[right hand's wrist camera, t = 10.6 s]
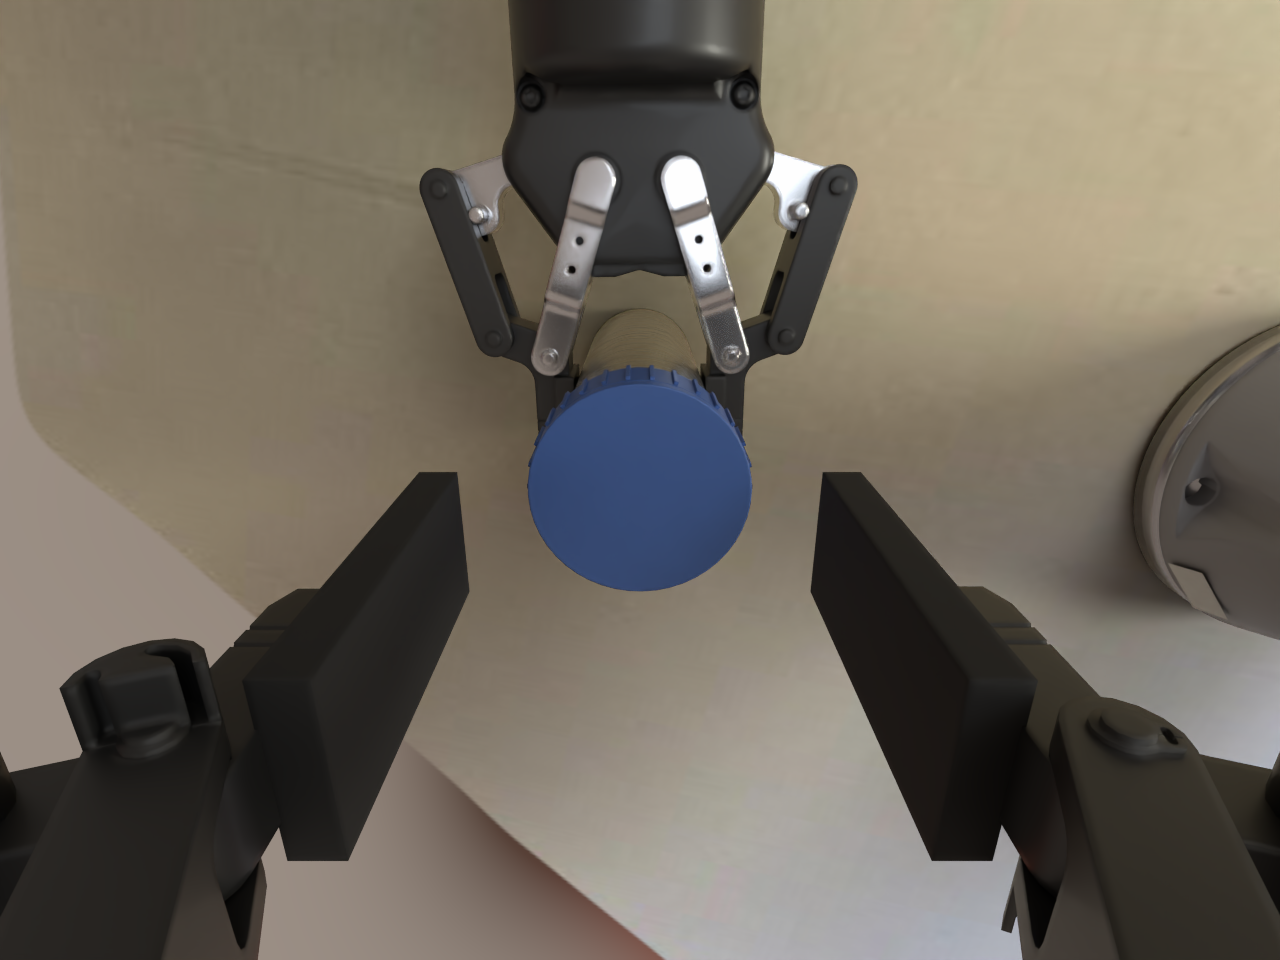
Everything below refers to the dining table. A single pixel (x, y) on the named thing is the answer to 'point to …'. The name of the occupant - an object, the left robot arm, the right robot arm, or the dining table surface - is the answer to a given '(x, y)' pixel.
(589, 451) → the lid
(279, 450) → the dining table surface
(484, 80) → the dining table surface
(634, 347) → the beige bottle
